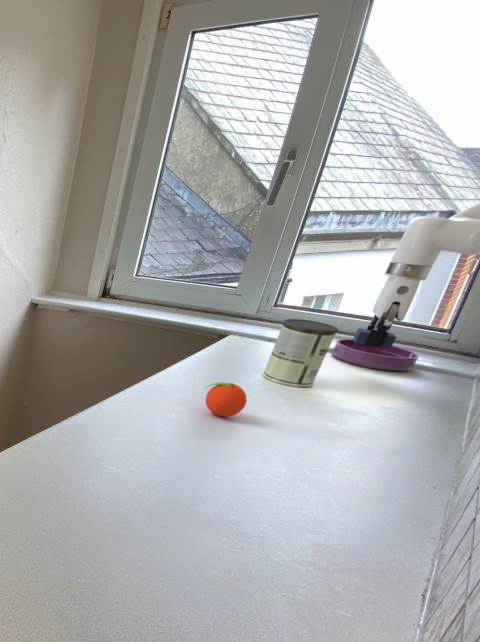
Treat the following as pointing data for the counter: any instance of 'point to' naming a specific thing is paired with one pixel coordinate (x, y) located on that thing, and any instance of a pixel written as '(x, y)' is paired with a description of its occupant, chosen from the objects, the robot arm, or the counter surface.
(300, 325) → the coffee can
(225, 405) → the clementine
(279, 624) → the counter surface
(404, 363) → the bowl
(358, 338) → the eraser
